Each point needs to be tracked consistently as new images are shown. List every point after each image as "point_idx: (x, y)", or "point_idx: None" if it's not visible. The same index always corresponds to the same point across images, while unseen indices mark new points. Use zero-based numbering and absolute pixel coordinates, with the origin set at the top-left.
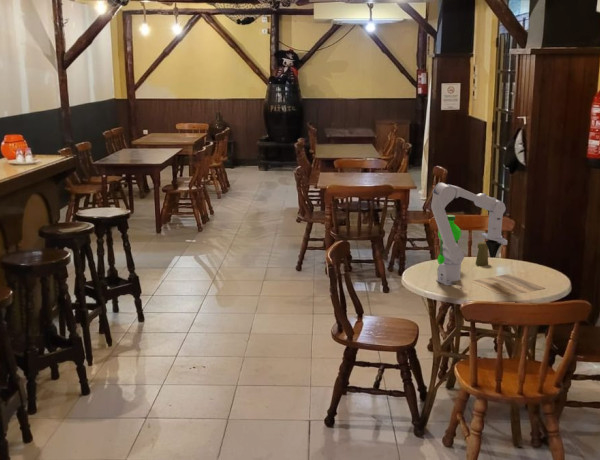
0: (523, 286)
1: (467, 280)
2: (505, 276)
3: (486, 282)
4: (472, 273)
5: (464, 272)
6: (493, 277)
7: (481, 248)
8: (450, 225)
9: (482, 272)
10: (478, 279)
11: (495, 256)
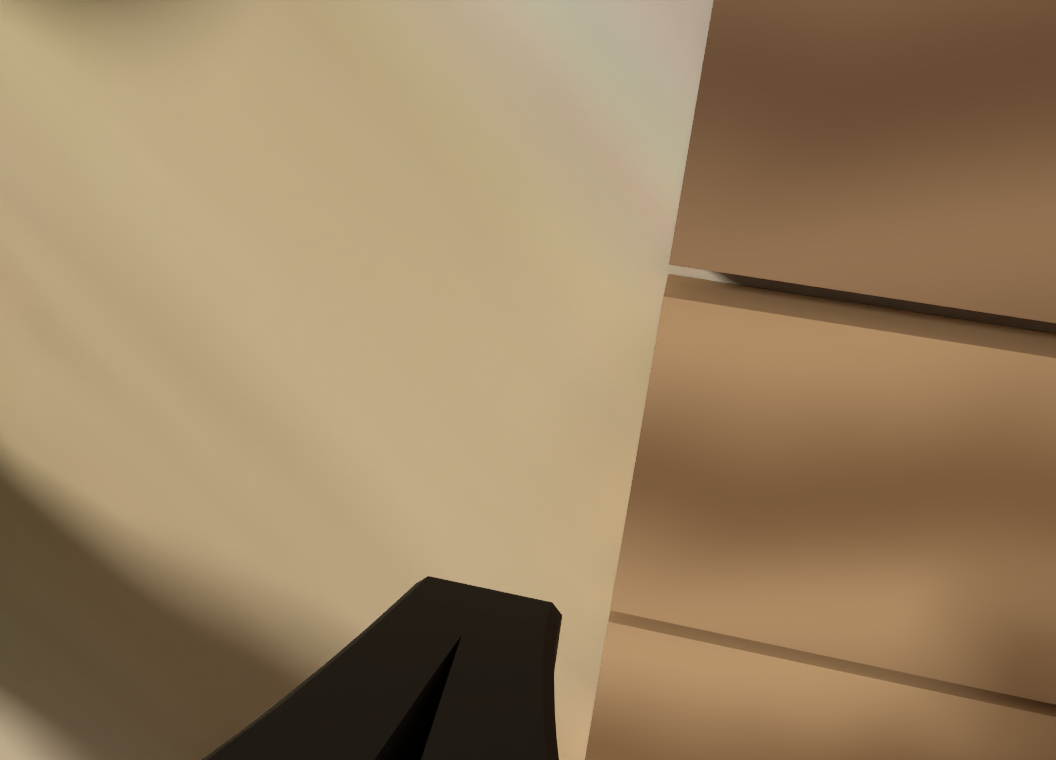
0: None
1: None
2: (838, 77)
3: (826, 744)
4: (135, 311)
5: (37, 383)
6: (691, 386)
7: None
8: None
9: (150, 77)
10: (601, 703)
11: (555, 631)
